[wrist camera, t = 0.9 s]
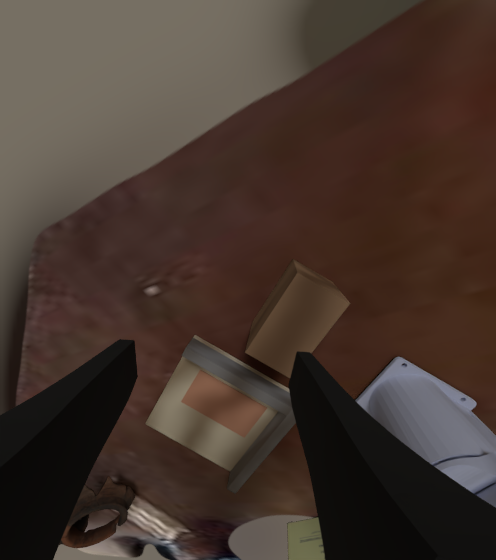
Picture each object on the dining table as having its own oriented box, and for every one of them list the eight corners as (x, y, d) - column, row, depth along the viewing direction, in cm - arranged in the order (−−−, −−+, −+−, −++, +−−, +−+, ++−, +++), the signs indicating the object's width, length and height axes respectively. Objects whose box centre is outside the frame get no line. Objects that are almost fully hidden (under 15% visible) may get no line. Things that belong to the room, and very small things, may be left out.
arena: (300, 395, 26) (302, 414, 24) (238, 471, 31) (235, 493, 28) (195, 334, 26) (186, 347, 23) (147, 419, 30) (136, 437, 28)
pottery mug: (90, 435, 33) (74, 500, 26) (149, 444, 38) (150, 501, 31) (43, 498, 34) (15, 579, 27) (107, 499, 38) (99, 568, 31)
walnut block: (331, 281, 22) (350, 303, 17) (288, 341, 25) (291, 379, 19) (292, 258, 22) (297, 272, 17) (252, 321, 25) (244, 352, 19)
